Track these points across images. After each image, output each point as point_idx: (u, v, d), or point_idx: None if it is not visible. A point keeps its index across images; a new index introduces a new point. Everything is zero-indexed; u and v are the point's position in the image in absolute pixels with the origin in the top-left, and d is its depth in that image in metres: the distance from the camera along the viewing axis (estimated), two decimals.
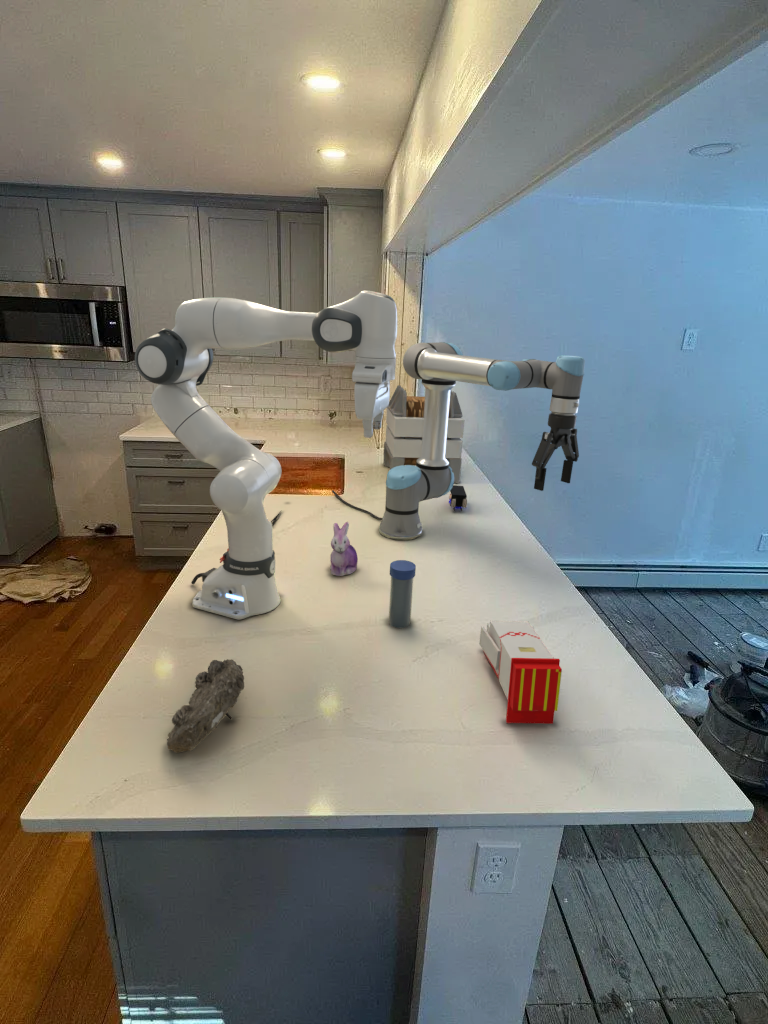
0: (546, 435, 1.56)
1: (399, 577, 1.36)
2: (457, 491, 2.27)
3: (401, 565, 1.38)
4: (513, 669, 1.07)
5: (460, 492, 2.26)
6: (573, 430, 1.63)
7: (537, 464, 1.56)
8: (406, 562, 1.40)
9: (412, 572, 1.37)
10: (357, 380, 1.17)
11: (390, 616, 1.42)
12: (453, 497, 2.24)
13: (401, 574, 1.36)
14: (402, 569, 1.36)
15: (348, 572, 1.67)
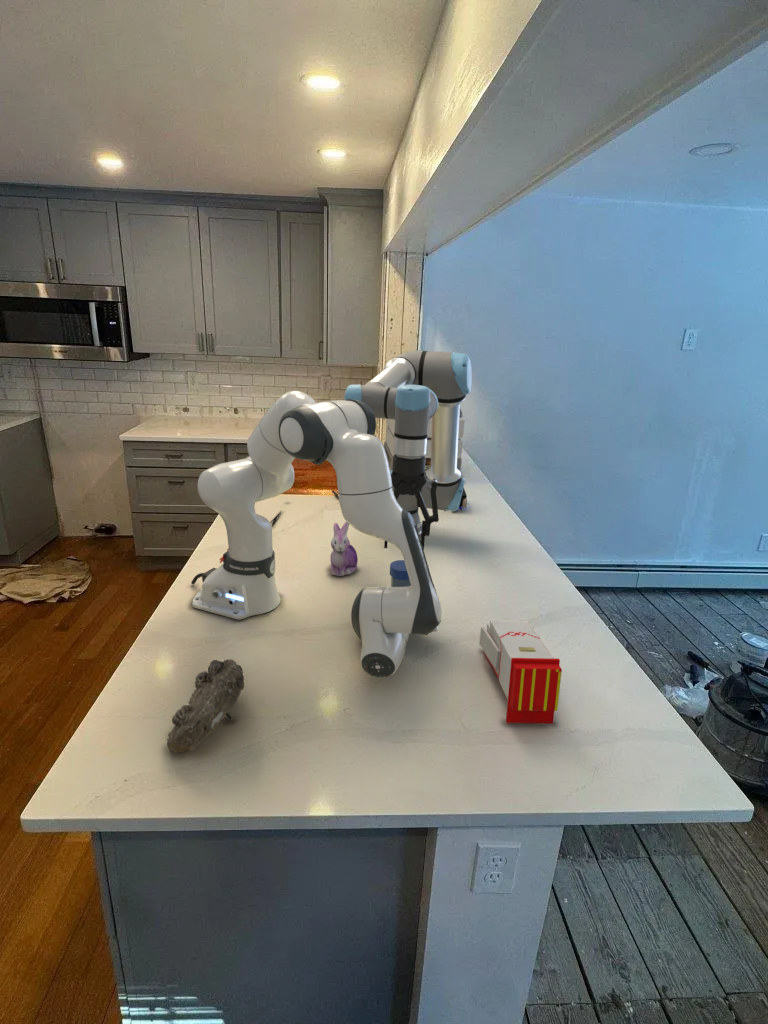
0: None
1: (399, 577, 1.36)
2: None
3: (401, 565, 1.38)
4: (513, 669, 1.07)
5: None
6: None
7: None
8: None
9: None
10: None
11: None
12: None
13: (401, 574, 1.36)
14: (402, 569, 1.36)
15: (348, 572, 1.67)
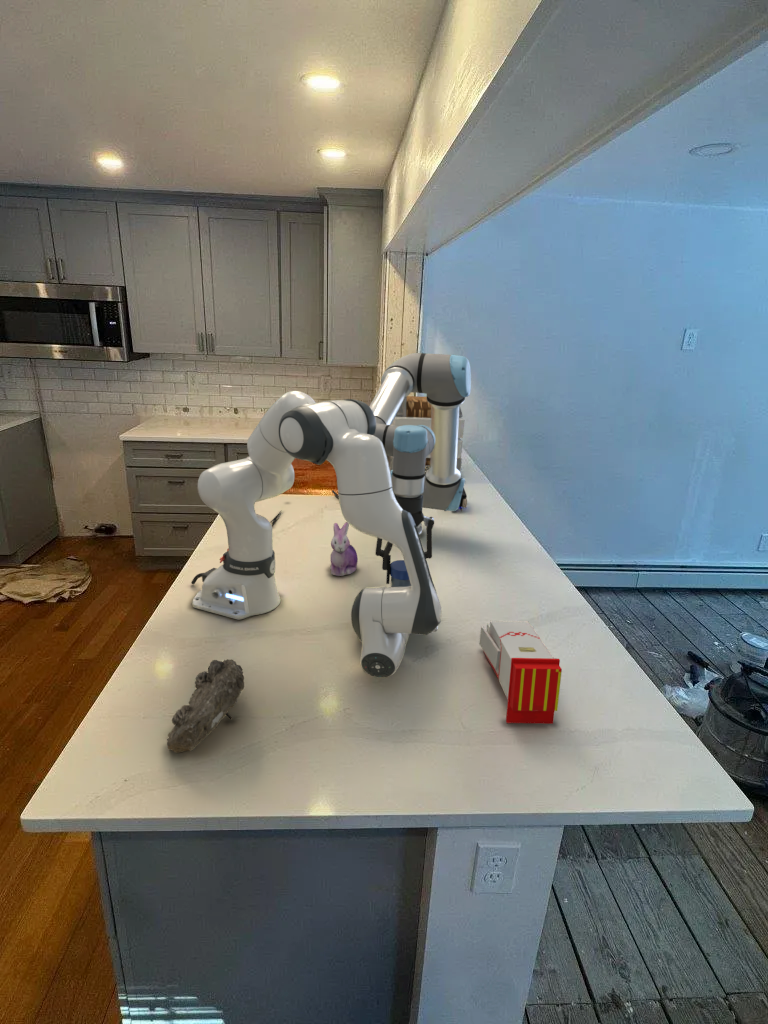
0: None
1: (399, 577, 1.36)
2: None
3: (401, 565, 1.38)
4: (513, 669, 1.07)
5: None
6: None
7: None
8: None
9: None
10: None
11: None
12: None
13: (401, 574, 1.36)
14: (402, 569, 1.36)
15: (348, 572, 1.67)
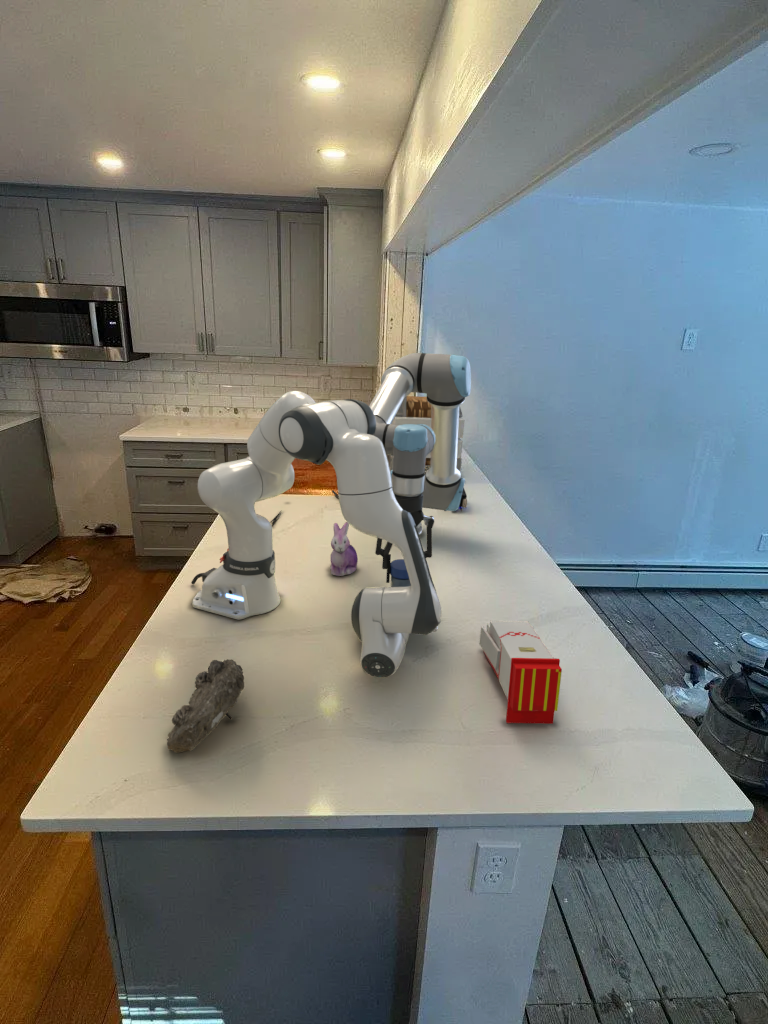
0: None
1: None
2: None
3: (404, 564, 1.38)
4: (513, 669, 1.07)
5: None
6: None
7: None
8: (395, 565, 1.37)
9: None
10: None
11: None
12: None
13: None
14: None
15: (348, 572, 1.67)
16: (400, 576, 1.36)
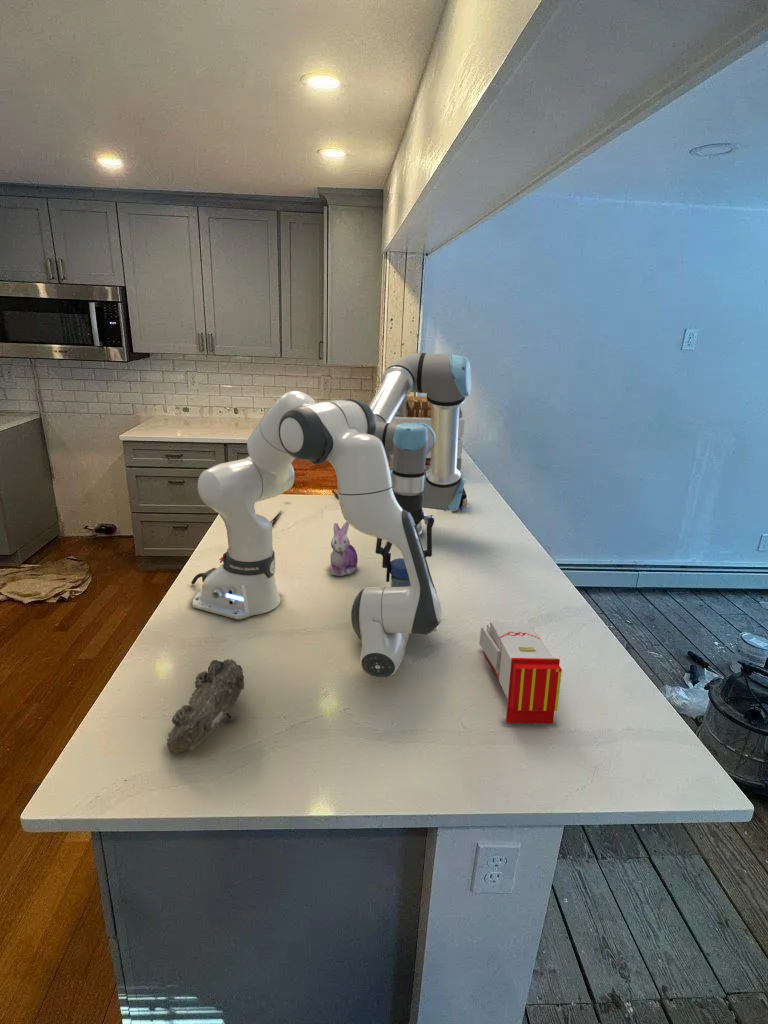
0: None
1: None
2: None
3: (402, 563, 1.38)
4: (513, 669, 1.07)
5: None
6: None
7: None
8: None
9: (397, 571, 1.36)
10: None
11: None
12: None
13: (390, 567, 1.38)
14: (393, 564, 1.38)
15: (348, 572, 1.67)
16: None
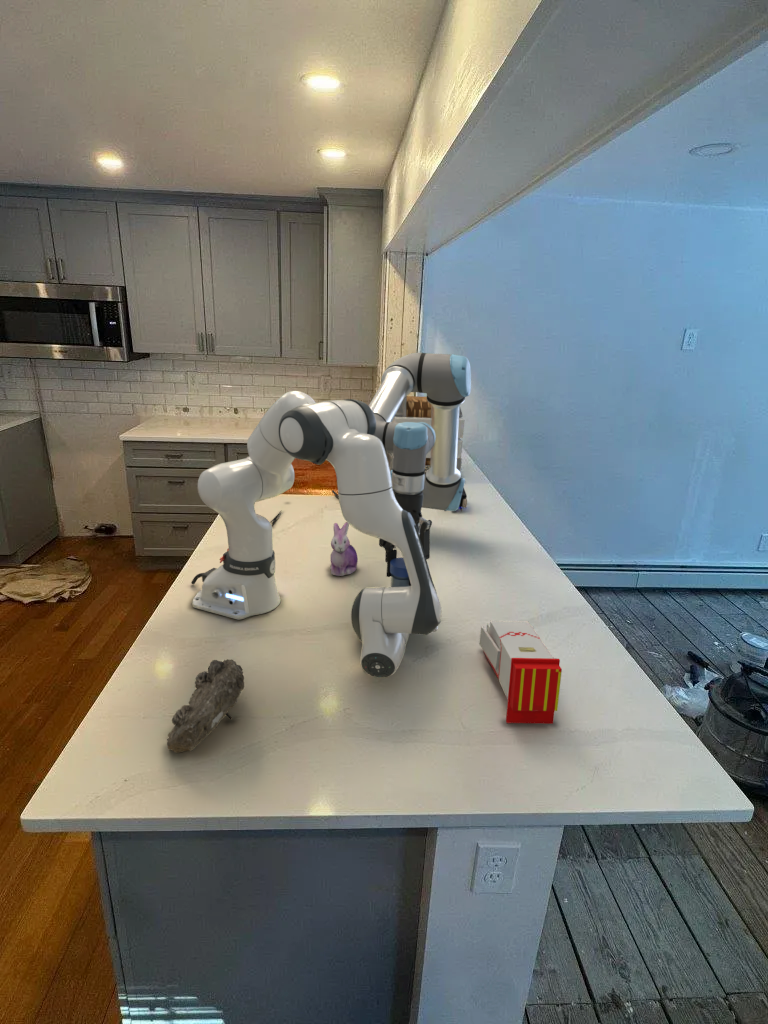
0: None
1: None
2: None
3: (402, 563, 1.38)
4: (513, 669, 1.07)
5: None
6: None
7: None
8: (397, 559, 1.39)
9: None
10: None
11: None
12: None
13: None
14: None
15: (348, 572, 1.67)
16: (390, 569, 1.38)
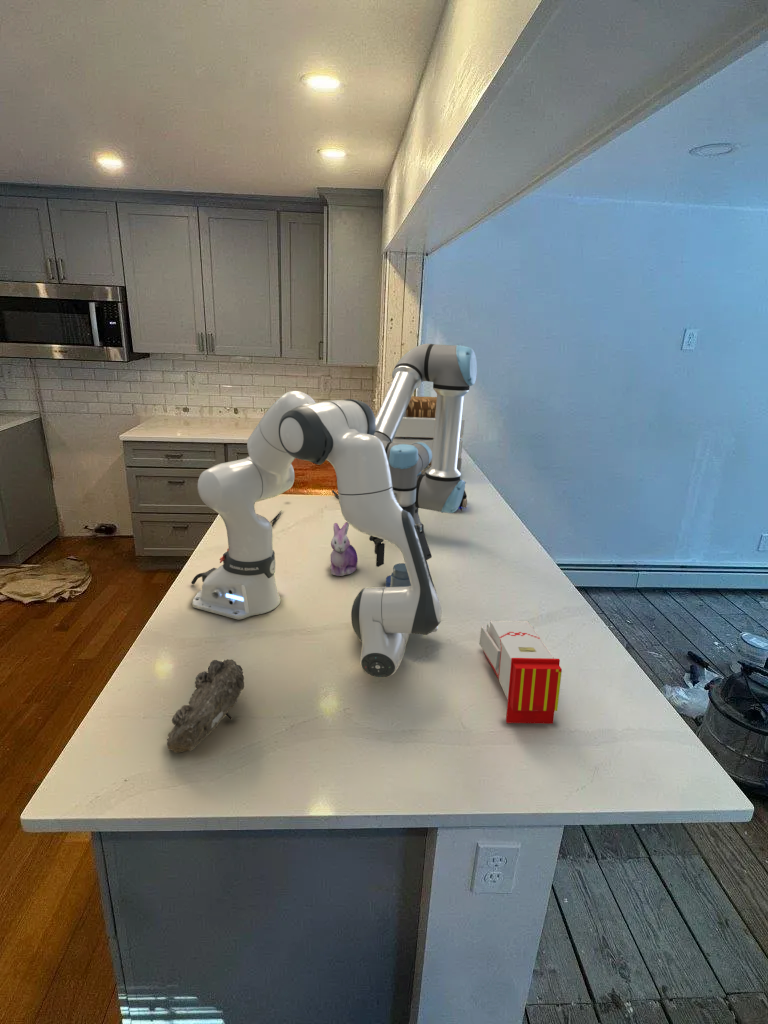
0: None
1: None
2: None
3: None
4: (513, 669, 1.07)
5: None
6: None
7: None
8: None
9: None
10: None
11: None
12: None
13: None
14: None
15: (348, 572, 1.67)
16: None
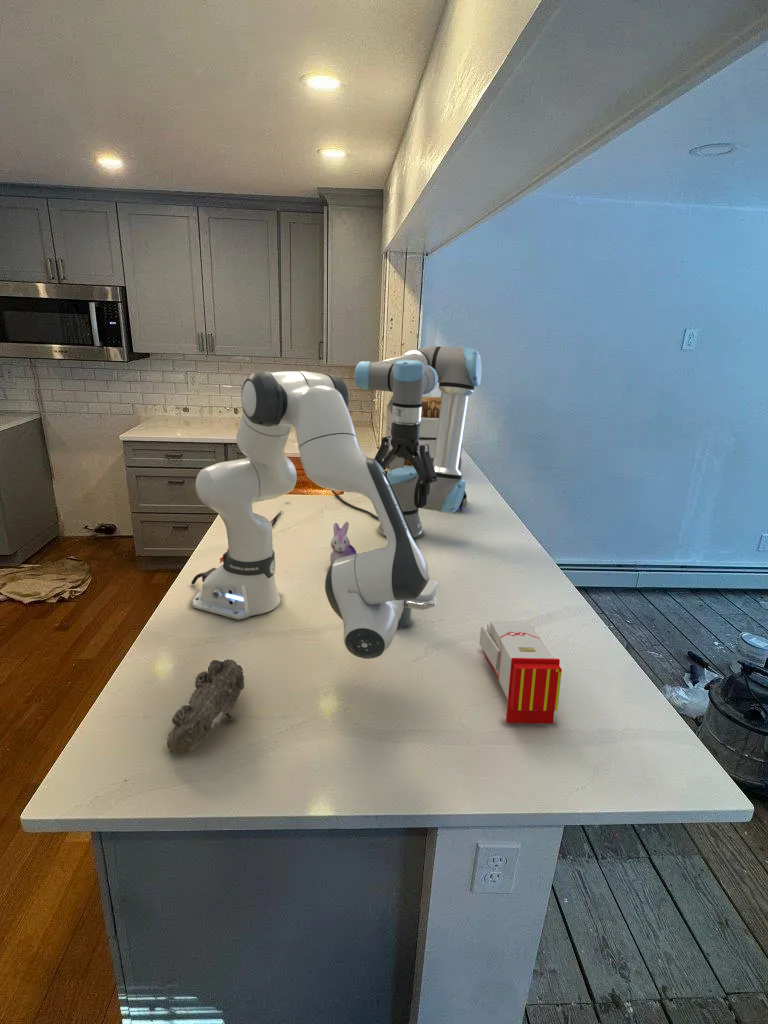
0: None
1: None
2: None
3: None
4: (513, 669, 1.07)
5: None
6: None
7: None
8: None
9: None
10: None
11: None
12: None
13: None
14: None
15: None
16: None
